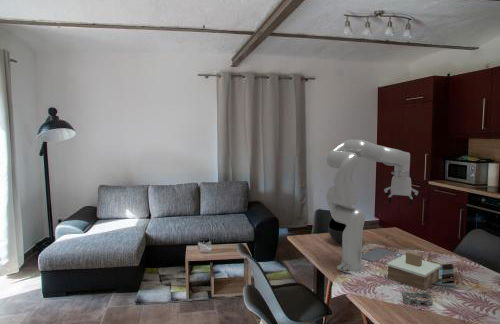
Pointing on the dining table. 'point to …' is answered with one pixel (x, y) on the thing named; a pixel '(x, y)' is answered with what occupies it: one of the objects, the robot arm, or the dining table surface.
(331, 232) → the coal bowl
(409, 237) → the dining table surface
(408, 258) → the lid
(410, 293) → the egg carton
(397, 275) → the box
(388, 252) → the mat
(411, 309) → the dining table surface
